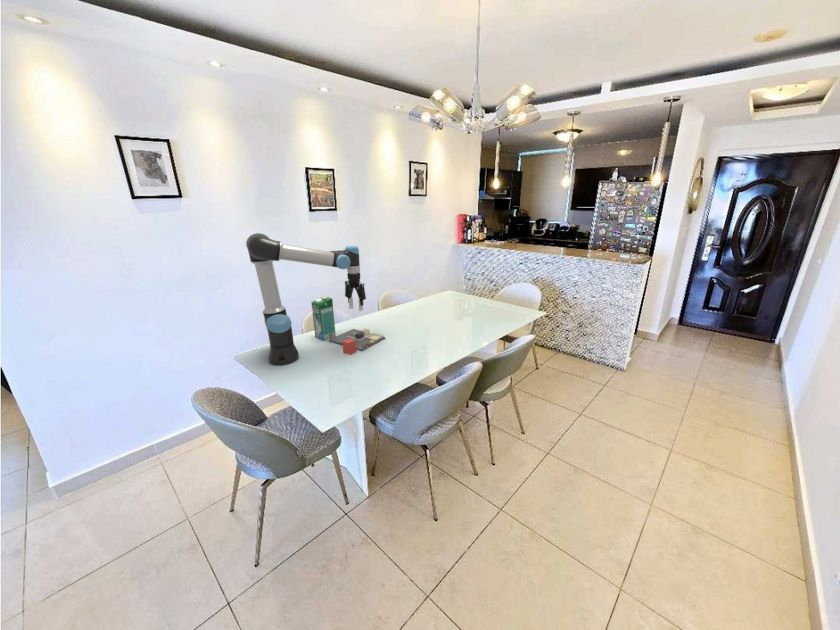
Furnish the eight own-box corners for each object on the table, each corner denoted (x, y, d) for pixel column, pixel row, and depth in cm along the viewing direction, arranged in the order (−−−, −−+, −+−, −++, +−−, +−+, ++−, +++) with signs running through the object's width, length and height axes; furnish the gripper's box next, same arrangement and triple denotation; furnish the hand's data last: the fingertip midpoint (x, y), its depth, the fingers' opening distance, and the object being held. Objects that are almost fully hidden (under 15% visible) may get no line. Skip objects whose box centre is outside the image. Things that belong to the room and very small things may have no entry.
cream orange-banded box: (361, 335, 209) (361, 330, 207) (366, 333, 212) (365, 328, 211) (365, 336, 207) (365, 331, 206) (369, 334, 210) (369, 329, 209)
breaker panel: (329, 341, 204) (328, 334, 203) (353, 330, 221) (352, 323, 219) (361, 351, 191) (361, 343, 189) (385, 338, 208) (384, 331, 206)
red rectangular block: (343, 352, 189) (342, 341, 187) (349, 349, 193) (348, 338, 191) (350, 354, 187) (349, 343, 184) (356, 351, 191) (355, 340, 188)
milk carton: (315, 337, 210) (310, 298, 202) (327, 333, 217) (324, 295, 208) (323, 341, 204) (318, 301, 196) (335, 336, 211) (332, 298, 203)
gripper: (336, 271, 202) (339, 308, 210) (362, 275, 192) (364, 313, 200) (345, 269, 208) (348, 305, 216) (371, 273, 198) (372, 310, 206)
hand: (356, 309), depth 208 cm, fingers open, 7 cm apart
